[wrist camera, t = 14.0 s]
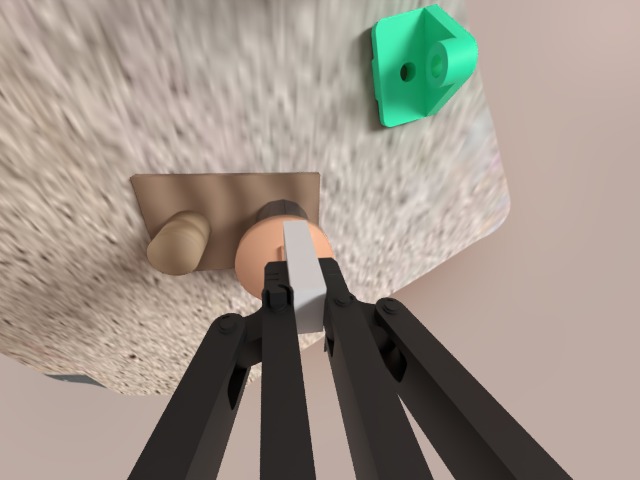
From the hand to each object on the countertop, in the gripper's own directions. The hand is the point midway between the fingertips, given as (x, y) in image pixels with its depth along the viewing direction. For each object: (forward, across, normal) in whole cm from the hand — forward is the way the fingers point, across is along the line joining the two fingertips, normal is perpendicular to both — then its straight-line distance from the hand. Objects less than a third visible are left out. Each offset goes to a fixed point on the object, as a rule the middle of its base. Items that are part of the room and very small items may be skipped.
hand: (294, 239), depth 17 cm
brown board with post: (+24, -7, -11) cm, 27 cm away
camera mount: (+25, +17, +11) cm, 32 cm away
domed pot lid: (+15, 0, -10) cm, 18 cm away
